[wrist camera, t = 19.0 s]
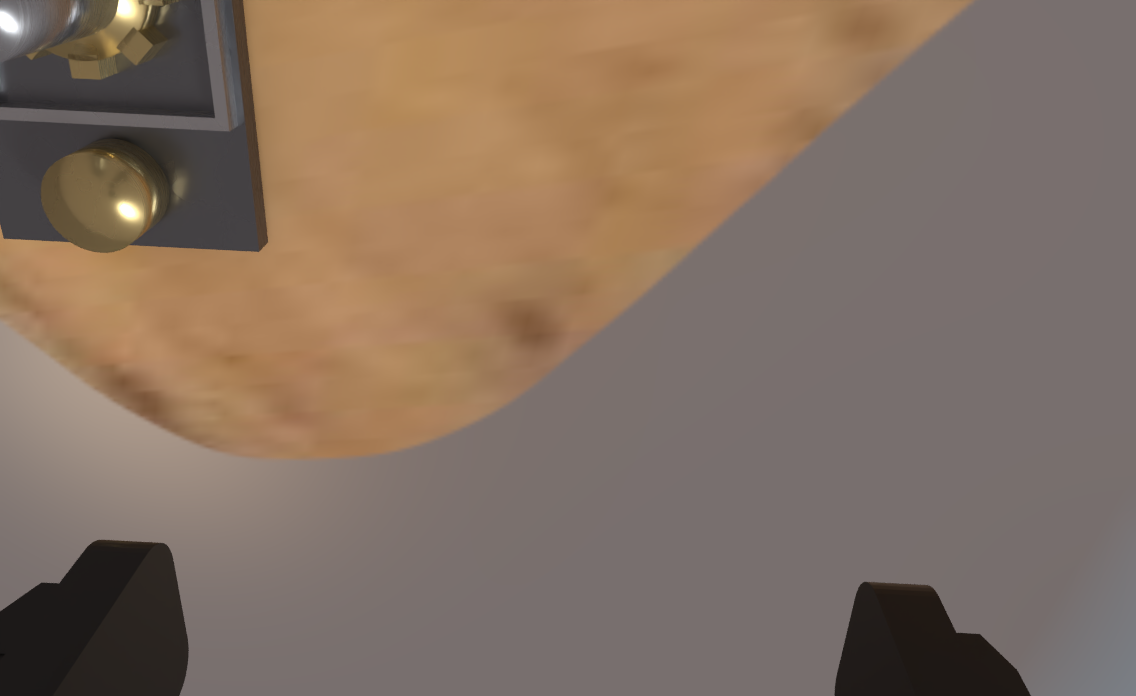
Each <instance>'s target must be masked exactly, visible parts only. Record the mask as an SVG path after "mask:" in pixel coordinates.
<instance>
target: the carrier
mask: <svg viewBox="0 0 1136 696" xmlns="http://www.w3.org/2000/svg"><path fill="white" fill-rule="evenodd" d="M153 26H155V27H156V28H157V29H158V30H159V31H160V32H161V33H162V34H163V35H164V36H165V37H166V38H167V39H168V41H167V42H166V43H165V44H164V45H163V47H162V48H161V49H160V50H159V51H158V52H157V54H156V55H155V56H154V57H153V58H152V59H151V60H149V61H146V62H144V63H141V64H139V65H135V64H133V63H132V62H131V61H130V60H129V59H128V58H127V57H126V56H125V55H124V54H123V53H120V54H117V55H115V60H116V66H117V72H118V73H116V74H114V75H111V76H109V77H106V78H104V79H101V80H97V79H78V78H72V75H71V70H70V64H69V59H67V58H63V57H61V56H58V55H55V54H53V53H51V54H50V55H47V56H43V57H40V58H37V59H34V60H31V59H30V58H28V57H27V56H26V55H24V56H21V57H18V58H15V59H11V60H8V61H5V62H1V63H0V225H1V229H2V233H3V237H4V239H23V240H42V241H62V242H71V243H73V244H74V245H76V246H78V247H81V248H83V249H86V250H89V251H93V252H100V253H108V252H115V251H118V250H121V249H123V248H125V247H127V246H128V245H139V246H158V247H178V248H197V249H216V250H236V251H255V252H259V251H260V250H261V249H262V248H263V247H264V246H265V245H266V244H267V243H268V237H267V228H266V218H265V209H264V199H263V190H262V180H261V170H260V161H259V151H258V142H257V132H256V122H255V113H254V103H253V94H252V84H251V75H250V65H249V55H248V46H247V36H246V27H245V17H244V8H243V0H178V2H175V3H171V4H168V5H164V6H159V11H158V15H157V18H156V21H155V23H154V25H153Z"/></svg>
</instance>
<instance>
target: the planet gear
mask: <svg viewBox="0 0 1136 696" xmlns="http://www.w3.org/2000/svg"><path fill="white" fill-rule="evenodd" d="M175 2H178V0H0V63H1V62H5V61H8V60H11V59H15V58H18V57H21V56H24V55H26V56H27V57H28V58H30V59H31V60H34V59H37V58H40V57H43V56H47V55H50V54H51V53H53V54H55V55H58V56H61V57H63V58H67V59H69V64H70V70H71V75H72V78H78V79H97V80H101V79H104V78H106V77H109V76H111V75H114V74H116V73H118V72H117V66H116V60H115V55H117V54H120V53H123V54H124V55H125V56H126V57H127V58H128V59H129V60H130V61H131V62H132V63H133V64H135V65H139V64H141V63H144V62H146V61H149V60H151V59H152V58H153V57H154V56H155V55H156V54H157V52H158V51H159V50H160V49H161V48H162V47H163V45H164V44H165V43H166V42H167V41H168V39H167V38H166V37H165V36H164V35H163V34H162V33H161V32H160V31H159V30H158V29H157V28H156V27H155V26H153V25H154V23H155V21H156V18H157V15H158V11H159V6H164V5H168V4H171V3H175Z"/></svg>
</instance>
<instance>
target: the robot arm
mask: <svg viewBox="0 0 1136 696" xmlns="http://www.w3.org/2000/svg"><path fill="white" fill-rule="evenodd" d="M188 651H189V650H188V638H187V634H186V627H185V622H184V616H183V611H182V605H181V600H180V595H179V589H178V583H177V578H176V572H175V567H174V562H173V557H172V553H171V551H170V549H169V547H168V546H167V545H166V544H164V543H152V542H132V541H113V540H97V541H95V542H93V543H92V544H90V545H89V546H88V547H87V548H86V549H85V551H84V552H83V553H82V555H81V556H80V557H79V558H78V560H77V561H76V562H75V564H74V565H73V566H72V568H71V569H70V570H69V572H68V573H67V574H66V575H65V577H64V578H63V579H62V581H61V582H60V583H59V584H57V583H40V584H39V585H37V586H36V587H35V588H33V589H32V590H30V591H29V592H28V593H26V594H25V595H23V596H22V597H20V598H19V599H17V600H16V601H15V602H13V603H12V604H10V605H9V606H7V607H6V608H5V609H3V610H2V611H0V696H179V695H180V692H181V689H182V687H183V683H184V680H185V676H186V670H187V664H188ZM835 696H1031V695H1030V694H1029V691H1028V690H1027V688H1026V686H1025V684H1024V682H1023V680H1022V679H1021V676H1020V675H1019V673H1018V671H1017V669H1015V668H1014V667H1013V666H1012V665H1011V664H1010V663H1009V662H1008V661H1007V660H1006V659H1005V658H1004V657H1003V656H1002V655H1001V654H1000V653H999V652H998V651H997V650H996V649H995V648H994V647H993V646H991V645H990V644H989V643H988V642H987V641H986V640H985V639H984V638H983V637H982V636H981V635H980V634H967V633H956V631H955V629H954V627H953V625H952V623H951V621H950V619H949V617H948V615H947V613H946V611H945V609H944V606H943V605H942V603H941V600H940V598H939V596H938V594H937V593H936V591H935V590H934V589H933V588H932V587H931V586H928V585H915V584H914V585H913V584H896V583H877V582H863V583H862V584H861V585H860V587H859V588H858V591H857V593H856V597H855V601H854V605H853V609H852V614H851V618H850V622H849V627H848V631H847V635H846V639H845V643H844V647H843V651H842V656H841V660H840V664H839V668H838V672H837V677H836V684H835Z"/></svg>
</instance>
